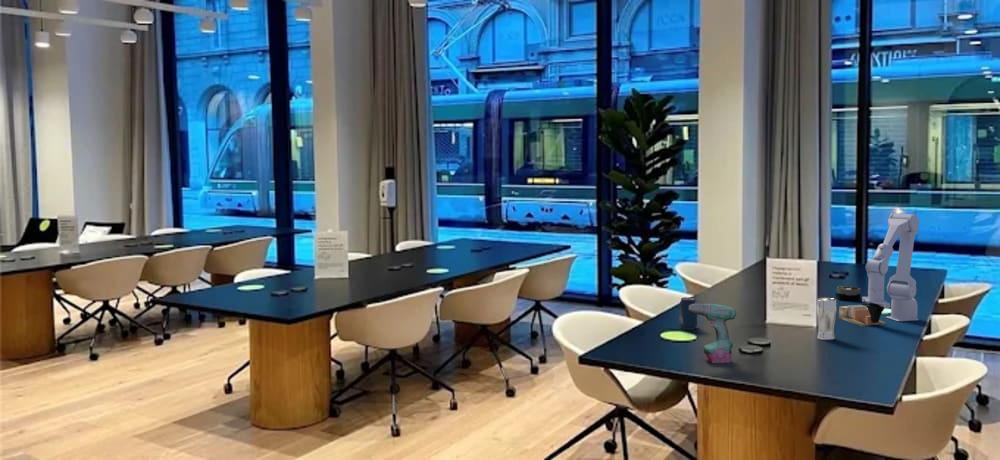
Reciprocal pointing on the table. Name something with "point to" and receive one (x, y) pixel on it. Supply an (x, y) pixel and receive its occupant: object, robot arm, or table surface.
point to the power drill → (717, 330)
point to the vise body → (844, 316)
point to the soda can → (687, 313)
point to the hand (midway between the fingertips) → (875, 322)
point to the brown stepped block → (863, 316)
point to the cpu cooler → (848, 293)
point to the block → (852, 307)
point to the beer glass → (826, 318)
